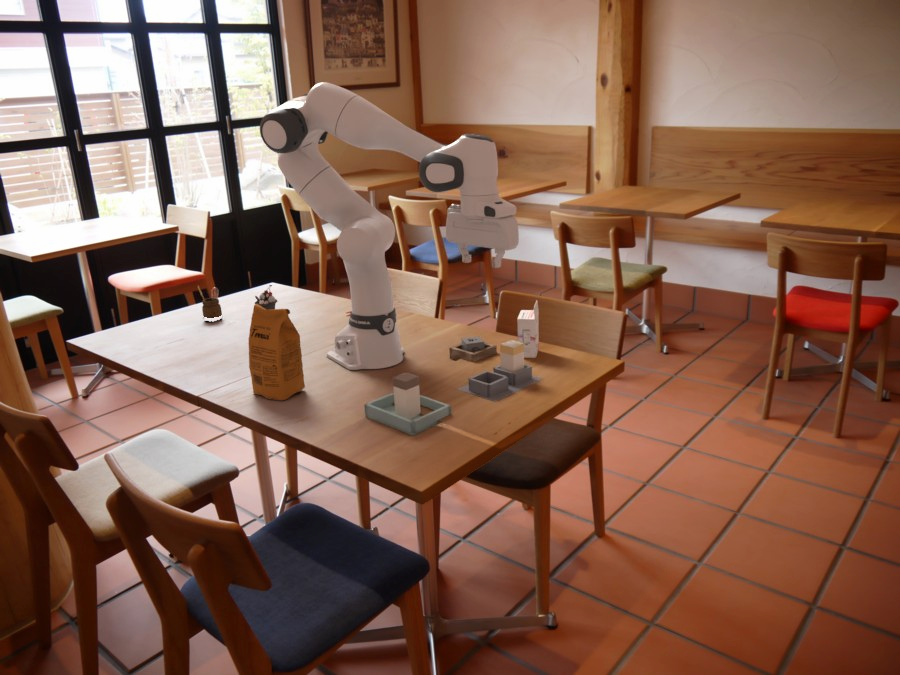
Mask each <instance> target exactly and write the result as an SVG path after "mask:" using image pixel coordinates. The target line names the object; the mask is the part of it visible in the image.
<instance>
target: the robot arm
mask: <svg viewBox="0 0 900 675" xmlns="http://www.w3.org/2000/svg"><path fill="white" fill-rule="evenodd" d="M259 133H260V137H261V140H262V141H263V144H264V145H265V146H266V147H267V148H268V149H269V150H270V151H272V152H274V153H277V154H279V155H278V157H277V158H278V159H277V165H278V168H279V170H280V171H281V173H282V174H283V176H284V178H285V179H286V180H287V182H288V183H289V185H290V186H291V188H292V189H293V190H294V191H295V192H296V193H297V195H299V197H301V199H302V200H303V201H304V202H305V204H306V205H308V206H309V207H310V209H311V210H313V212H314V213H315V214H316V215H317V217H319V219H321V220H322V221H325V222H327V223H329V224H330V225H331V226H333V227H334V228H336V229H337V230H339V231H340V233H339V235H338V238H337V241H336V250H337V253H338V255H339V257H340V258H341V259H342V261H343V265H344V268H345V271H346V275H347V278H348V282H349V289H350V291H349V292H350V301H351V302H350V303H351V311H347V312H346V314H347V315H346V317H349V319H348V323H347V325H346V326H344V327H343V328H342V329H341V330H340V331H338V333H337V334H336V335H335V338H334V348H332V349H330V350H329V351H327V353H326V357H327V358H328V359H330V360H332V361H333V362H335V363H337V364H339V365H340V366H342V367H343V368H345V369H348V370H350V371H359V370H377V369H378V370H379V369H385V368H390V367H393V366H396V365H399V363H401V362H403V361H404V355H403V354H404V352H405V350H404V348H403V347H402V344H401V339H400V332H399V327H398V325H397V324H396V322H397V311H396V308H395V306H394V294H393V280H392V278H391V276H390V274H389V272H388V267H387V262H386V256H385V255H386V253H385V252H387V251H388V250H389V249H390V248H391V247H392V245H393V243H394V240H395V235H396V227H395V224H394V223H393V221H392V219H391V218H390V217H389V216H387V215H385V214H384V213H382V212H381V211H380V210H378V209H377V208H376V207H375V206H374V205H372V204H371V203H370V202H368V201H367V200H366V199H365V198H364V197H362V196H361V195H360V194H359V193H357V191H355V190H354V189H353V188H352V187H351V186H350V185H349V183H348V182H347V181H345V180H344V178H343V177H342V176H341V175H340V174H339V172H337V171H336V169H335V168H334V167H333V166H332V165H331V164H330V162H329V161H327V160H326V159H325V158H324V156H323V155H322V154H321V152H320V150H319V145H321V144H324V143H325V141H326V139H327V136H328V133H329V134H330V135H331V136H333V137H335V138H336V139H338V140H341V141H342V142H344V143H346V144H348V145H350V146H353V147H356V148H359V149H361V150H383V151H384V150H385V151H386V150H387V151H392V152H393V151H394V152H397V153H400V154H402V155H404V156H406V157H409V158H411V159H413V160H415V161H416V162H418V163H419V166H418V178H419V180H420V182H421V184H422V186H424V188H426V189H427V190H428V191H430V192H432V193H439V194H442V193H447V192H450V191H452V190H458V191H459V193H460V196H459V197H460V198H459V199H460V204H458V203H452V204H451V205H449V207H448V208H447V212H446V213H447V216H446V221H445V222H446V223H445V238H446V240H447V242H448V243H452V244H456V245H457V248H458V251H459V253H460V254H461V261H462V263H465V264H469V263H472V254H469V250H468V247H469V246H473V247H479V248H486V249H493V250H494V254H495V258H494V259H491V267H492V268H495V269H498V268H501V267H502V259H503V257H504V255H505V254H506V251H510V250H511V251H512V250H515V249H516V248H517V246H518V245H519V242H520V241H519V239H520V238H519V224H518V220H517V218H516V217H515V215H516V214H517V209H518V208H517V206H516V205H515V204H513V203H511V202H510V201H507V200H505V199H504V198H502V197H500V196H499V194H500V192H499V188H498V184H497V181H498V176H499V162H498V151H497V147H496V143H495V141H494V139H492V138H491V136H489V135H488V136H487V135H485V134H479V133H465V134H462V135H461V136H460V137H458V138H457V139H456V140H455V141H454V142H452V143H450V144H445V143H441V142H440V141H436V140H435V139H433V138H431V137H429V136H427V135H425V134H423V133H421V132H419V131H418V130H416V129H413V128H412V127H409V126H408V125H405V124H403V122H400V121H399V120H397V118H395V117H393V116H392V115H390V114H388V113H387V112H386V111H383V110H382V109H381V108H380V107H378V106H377V105H376V104H374V103H371V102H370V101H368V100H367V99H365V98H364V97H363V96H361V95H358V94H356V93H355V92H353V91H351V90H349V89H347V88H344V87H341V86H339V85H337V84H334V83H331V82H326V81H324V82H322V81H321V82H318V83H316V84H314V86H312V87H311V88H310V90H309V91H308V93H305V94H303V95H300V96H298V97H294V98H291V99H289V100H287V101H285V102H284V103H283V104H280V105H279V106H277V107H276V108H272V109H271V110H269V111H268V112H267V113H266V114H265V115H264V116H263V117H262V119H261V120H260V123H259Z"/></svg>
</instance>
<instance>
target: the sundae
mask: <svg viewBox="0 0 900 675" xmlns="http://www.w3.org/2000/svg"><path fill="white" fill-rule="evenodd" d="M272 286H273V285H271V284H269V287H268V288H267V289H265V290H264V291H263V292H261V294H260V295H259V297H258V296H257V295H255V296H254V297H255V299H256V301H255V302H254V305H255V304H258V305H260V306H261V307H263V308H265V309H266V310H269V309H276V303H278V299H277V298H276V297H275V296H274V295H273V292H272V291H271V287H272Z"/></svg>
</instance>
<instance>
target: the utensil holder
mask: <svg viewBox="0 0 900 675" xmlns="http://www.w3.org/2000/svg"><path fill="white" fill-rule="evenodd" d="M197 290H198V292H199V293H200V296H201V297H202V299H203V300H202V302H201V303H202V308H201V309H202V310H201V311H202V317H203V316H204V317H207V318H214V317H219V316H221V315H222V316H223V313H222V312H223V311H222V307H221V304H220V301H219V297H216V296H219V289H218V288H217V287H212V289H211V291H210V292H211V295H210V296H211V297H209V298H205V297H204V295H203V292H202V290H201V288H200V285H197ZM213 290H217V293H216V294H214V295H213ZM213 296H214V297H213ZM204 317H203V318H204Z"/></svg>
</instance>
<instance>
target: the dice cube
mask: <svg viewBox="0 0 900 675" xmlns="http://www.w3.org/2000/svg"><path fill="white" fill-rule="evenodd" d="M461 343H462V350H465V351H469V352H473V353H475V352H477V351H480V350H482V349H485V346H484V343H485V340H483V339H482V337H480V336H470V337H469V336H468V337H462V338H461ZM461 343H460V344H461Z"/></svg>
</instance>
